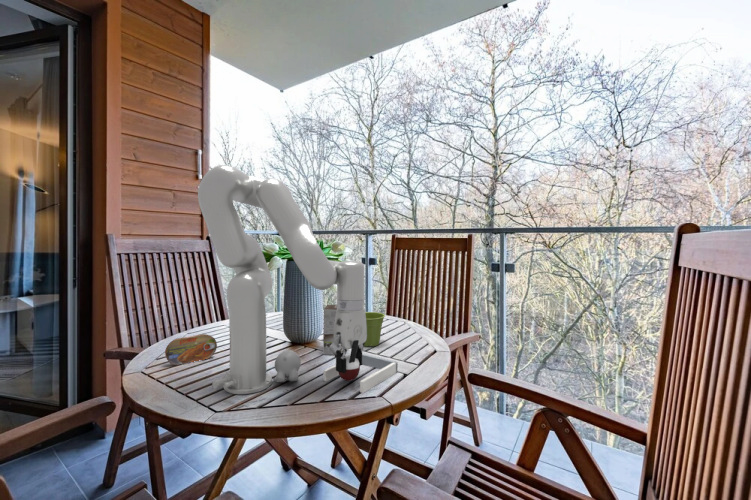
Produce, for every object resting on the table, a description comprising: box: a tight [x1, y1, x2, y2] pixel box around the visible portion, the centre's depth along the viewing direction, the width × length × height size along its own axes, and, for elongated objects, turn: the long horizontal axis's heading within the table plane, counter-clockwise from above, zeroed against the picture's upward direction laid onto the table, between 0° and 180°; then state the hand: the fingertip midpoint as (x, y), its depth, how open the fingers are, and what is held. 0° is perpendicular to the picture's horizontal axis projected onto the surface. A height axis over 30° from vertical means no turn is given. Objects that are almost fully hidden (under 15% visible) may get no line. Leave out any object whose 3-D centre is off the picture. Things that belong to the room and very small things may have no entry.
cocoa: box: [338, 340, 361, 382], centre depth 99 cm, size 10×6×12 cm, turn 4°
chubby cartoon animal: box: [274, 350, 302, 383], centre depth 102 cm, size 7×12×8 cm, turn 9°
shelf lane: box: [322, 353, 399, 394], centre depth 104 cm, size 18×14×3 cm
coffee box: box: [322, 304, 343, 356], centre depth 127 cm, size 9×6×16 cm
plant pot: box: [363, 311, 386, 347], centre depth 135 cm, size 12×12×11 cm
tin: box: [164, 333, 218, 366], centre depth 115 cm, size 15×3×8 cm, turn 129°
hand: (349, 367), depth 99 cm, fingers closed on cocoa, 6 cm apart
